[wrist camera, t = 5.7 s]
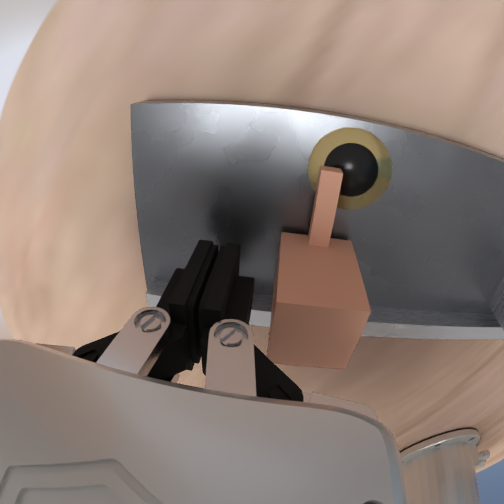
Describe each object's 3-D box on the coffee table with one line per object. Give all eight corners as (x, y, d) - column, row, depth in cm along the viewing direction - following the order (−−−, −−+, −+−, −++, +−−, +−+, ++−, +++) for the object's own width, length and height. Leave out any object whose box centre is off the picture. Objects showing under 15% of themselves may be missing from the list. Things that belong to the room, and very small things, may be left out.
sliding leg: (367, 171, 11) (402, 222, 8) (335, 295, 14) (345, 369, 11) (290, 160, 11) (290, 206, 8) (273, 288, 15) (266, 362, 11)
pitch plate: (565, 187, 11) (628, 240, 6) (508, 315, 16) (542, 381, 11) (145, 100, 12) (56, 128, 7) (157, 280, 18) (113, 363, 12)
